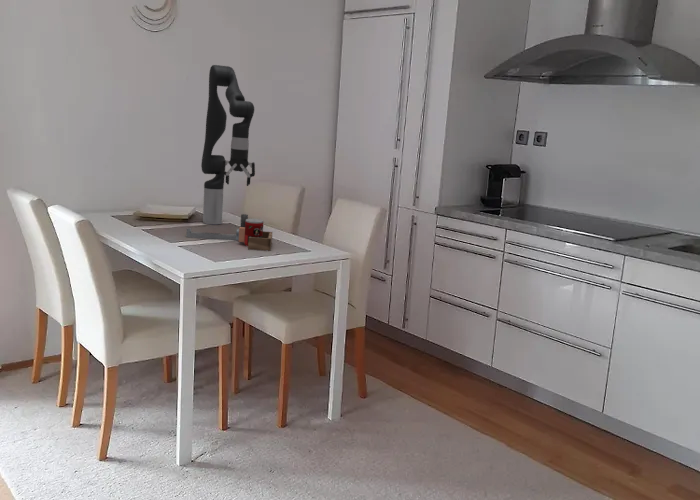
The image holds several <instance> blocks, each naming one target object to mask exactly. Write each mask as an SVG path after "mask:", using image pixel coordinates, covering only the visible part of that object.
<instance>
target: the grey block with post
mask: <svg viewBox="0 0 700 500" xmlns="http://www.w3.org/2000/svg"><path fill="white" fill-rule="evenodd" d="M246 219H249V214H245V213H243V214H241V215H240V227H239V228H237V229H236V232H235V234H236V240H235V241H238V240H239V241H238V243H244V241H245V221H246Z"/></svg>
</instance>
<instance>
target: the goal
mask: <svg viewBox="0 0 700 500" xmlns="http://www.w3.org/2000/svg"><path fill="white" fill-rule="evenodd" d="M272 244H273V231H264V230H263V238H256V237H249V241H248V246H247V249H248V250H251V251H252V250H253V251H266V250H268V252H270V251H271V249H272Z"/></svg>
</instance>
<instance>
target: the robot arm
mask: <svg viewBox="0 0 700 500" xmlns="http://www.w3.org/2000/svg"><path fill="white" fill-rule="evenodd" d="M218 87H225V88H226V89H225V98H226V100H227V102H228V103H229V107H228V108H229V114H230V116H231V117H233V118H243V119H242V121H241V122H240V121H239V122H235V123H233V124H232V133H231V141H230V157H229V160H226V158H225V156H224V155H222V154H221V155H220V154H212V153H213V149H214V147H215V145H216V144H217V142H218V141H219V140H220V138H221V137H222V136H223V135H224V133H225V132H226V126H227V117H228V115H227V113H226V110H225V108H224V105H223V104H222V102H221V99H220V97H219V94H218ZM254 113H255V106H254V104H253V102H252V101H247V100H246V99H245V96H244V94H243V92H242V91H241V88H240V87H239V83H238V79H237V75H236V72H235V69H234V68H232V67H231V66H229V65H217V64H212V65H211V67H210V68H209V74H208V101H207V109H206V119H205V120H206V121H205V132H204V133H205V135H204V144H203V151H202V157H201V165H200V166H201V172H202V173H203V174H205V175H215V176H213V178H212V179H209V180H206V181H205V182H204V184H203V213H202V223H203V224H207V225H221V224H223V207H224V206H223V205H224V186H225V184H226V185H229V184H230V174H231V173H232V172H233V171H234V172H243V173H245V175H246V187H249V185H251V178H252V177H255V175H256V163H255V162H254V161H253V162H249V144H250V143H249V141H250V140H249V131H250V126H251V122H252V120H253V116H254ZM228 164H229V165H230V168H229V169H228V170H227V171H226V166H228ZM247 167H250V168H251V173H250V171H249V170H248V169H247Z"/></svg>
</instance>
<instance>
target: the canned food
mask: <svg viewBox="0 0 700 500" xmlns="http://www.w3.org/2000/svg"><path fill="white" fill-rule="evenodd" d="M263 231H264V220H263V219H260V218H248V219H246V221H245V241H244V242H243V243H244V246H246V247H248V241H249V237H256V238H263Z"/></svg>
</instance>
